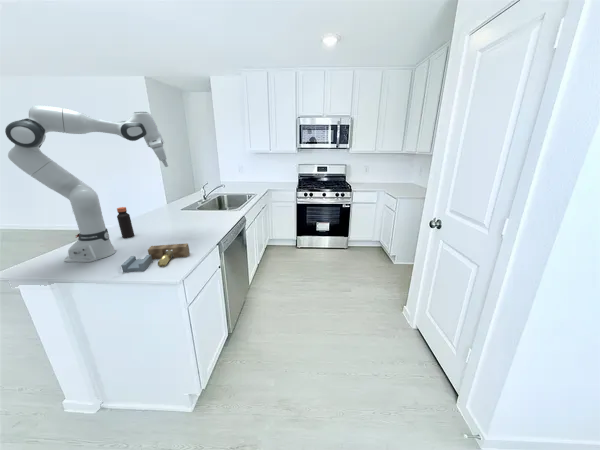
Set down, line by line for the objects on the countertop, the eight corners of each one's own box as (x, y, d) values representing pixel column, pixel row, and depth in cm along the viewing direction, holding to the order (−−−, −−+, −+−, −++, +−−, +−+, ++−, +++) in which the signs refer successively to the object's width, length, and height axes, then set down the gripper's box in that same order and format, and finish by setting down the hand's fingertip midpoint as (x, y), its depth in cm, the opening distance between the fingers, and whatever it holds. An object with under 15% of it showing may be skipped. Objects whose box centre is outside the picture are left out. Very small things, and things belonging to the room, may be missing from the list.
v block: (144, 270, 119) (142, 263, 118) (123, 272, 118) (121, 265, 117) (152, 261, 129) (151, 254, 128) (132, 263, 127) (131, 256, 126)
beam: (149, 259, 131) (147, 249, 129) (153, 255, 135) (151, 245, 134) (187, 256, 134) (185, 246, 132) (189, 253, 138) (187, 243, 137)
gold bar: (166, 266, 124) (165, 259, 123) (158, 267, 123) (156, 260, 122) (174, 256, 135) (173, 249, 134) (166, 256, 134) (165, 250, 133)
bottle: (119, 238, 162) (112, 208, 156) (129, 234, 168) (122, 206, 162) (127, 239, 160) (120, 209, 154) (136, 235, 166) (130, 207, 160)
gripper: (148, 140, 146) (159, 163, 154) (149, 145, 131) (161, 170, 138) (159, 138, 149) (170, 160, 156) (161, 142, 133) (173, 166, 140)
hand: (166, 164), depth 147 cm, fingers open, 8 cm apart
